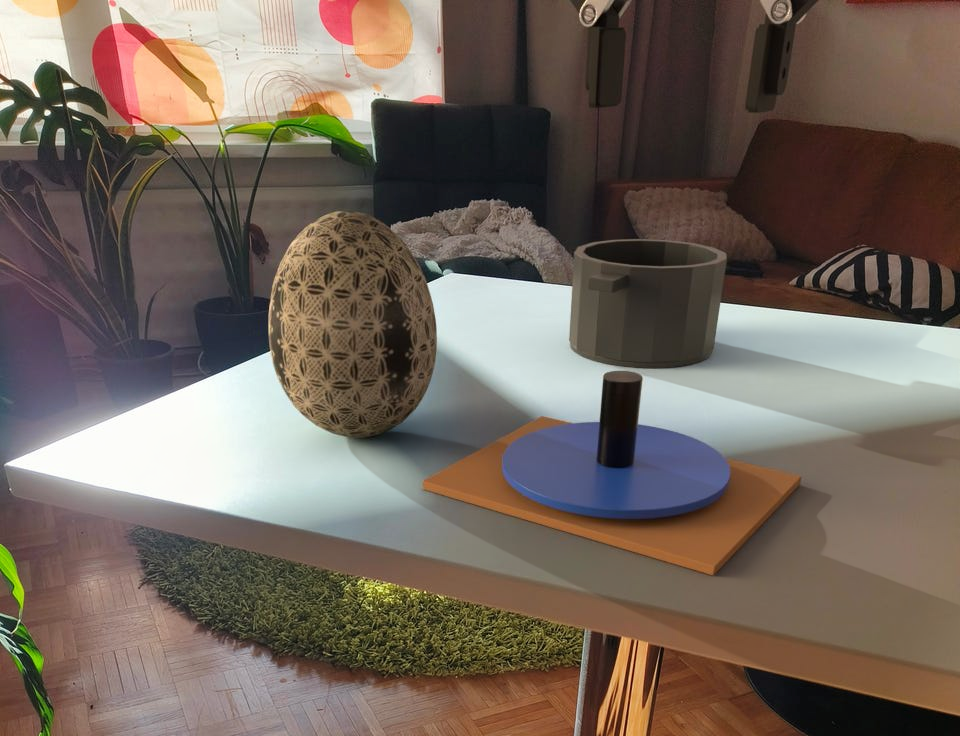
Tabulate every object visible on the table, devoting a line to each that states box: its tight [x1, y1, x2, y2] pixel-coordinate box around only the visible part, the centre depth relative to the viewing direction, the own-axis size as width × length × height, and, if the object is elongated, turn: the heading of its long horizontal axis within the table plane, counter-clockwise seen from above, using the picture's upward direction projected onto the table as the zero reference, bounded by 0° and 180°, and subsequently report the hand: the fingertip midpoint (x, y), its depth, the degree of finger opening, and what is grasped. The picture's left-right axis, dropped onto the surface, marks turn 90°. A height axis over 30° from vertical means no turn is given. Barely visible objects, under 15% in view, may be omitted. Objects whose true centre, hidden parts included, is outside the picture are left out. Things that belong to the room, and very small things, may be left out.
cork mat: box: [422, 415, 803, 576], centre depth 58 cm, size 20×15×1 cm
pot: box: [568, 238, 728, 369], centre depth 83 cm, size 14×19×8 cm
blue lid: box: [502, 370, 731, 519], centre depth 56 cm, size 15×15×7 cm
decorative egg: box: [268, 210, 438, 439], centre depth 62 cm, size 12×12×15 cm
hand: (678, 108), depth 52 cm, fingers open, 9 cm apart
